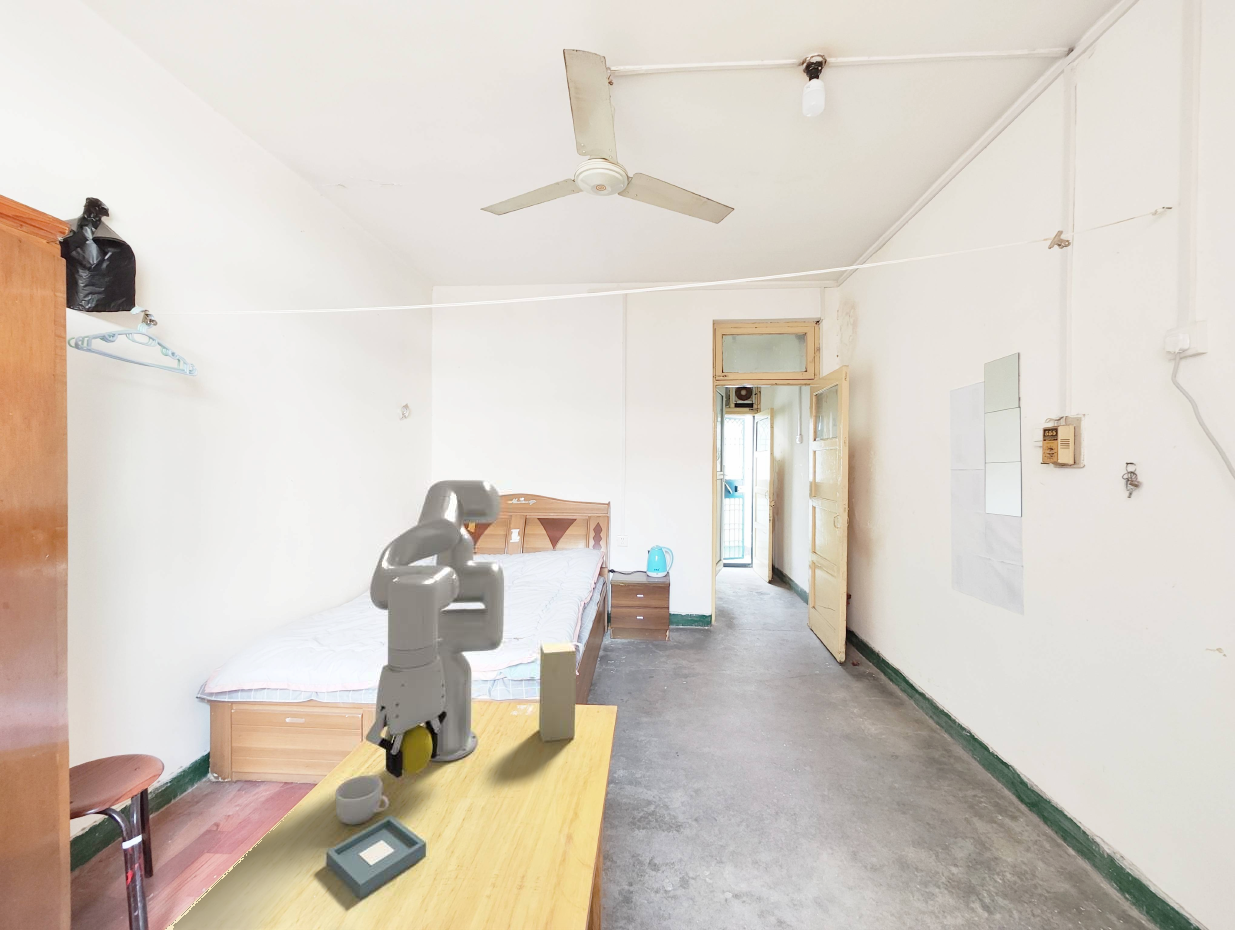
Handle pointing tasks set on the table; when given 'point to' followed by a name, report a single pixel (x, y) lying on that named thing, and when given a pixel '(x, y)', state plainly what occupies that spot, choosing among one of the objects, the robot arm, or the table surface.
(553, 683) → the beige rectangular block
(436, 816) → the table surface
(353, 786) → the teacup
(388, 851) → the tray
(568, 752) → the table surface
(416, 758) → the lemon
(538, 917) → the table surface
